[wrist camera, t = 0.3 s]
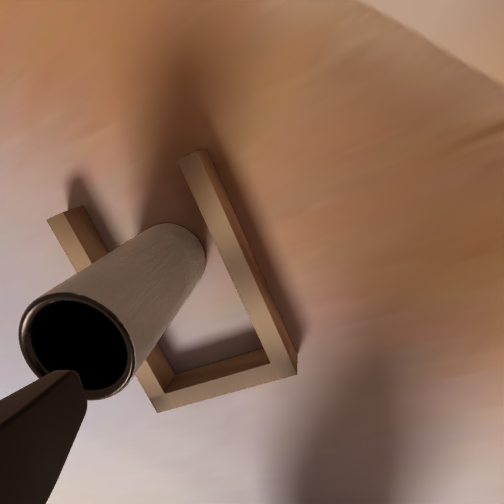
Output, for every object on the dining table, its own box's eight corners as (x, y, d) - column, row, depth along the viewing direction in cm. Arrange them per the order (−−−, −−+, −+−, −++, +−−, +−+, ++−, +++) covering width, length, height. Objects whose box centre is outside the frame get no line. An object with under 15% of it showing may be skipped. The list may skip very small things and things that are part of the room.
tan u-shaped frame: (297, 355, 24) (296, 374, 22) (167, 392, 26) (157, 412, 24) (206, 148, 21) (197, 150, 19) (67, 212, 23) (46, 219, 21)
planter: (123, 264, 24) (-1, 358, 14) (157, 207, 22) (43, 267, 12) (183, 304, 24) (102, 422, 14) (220, 250, 22) (157, 341, 13)
